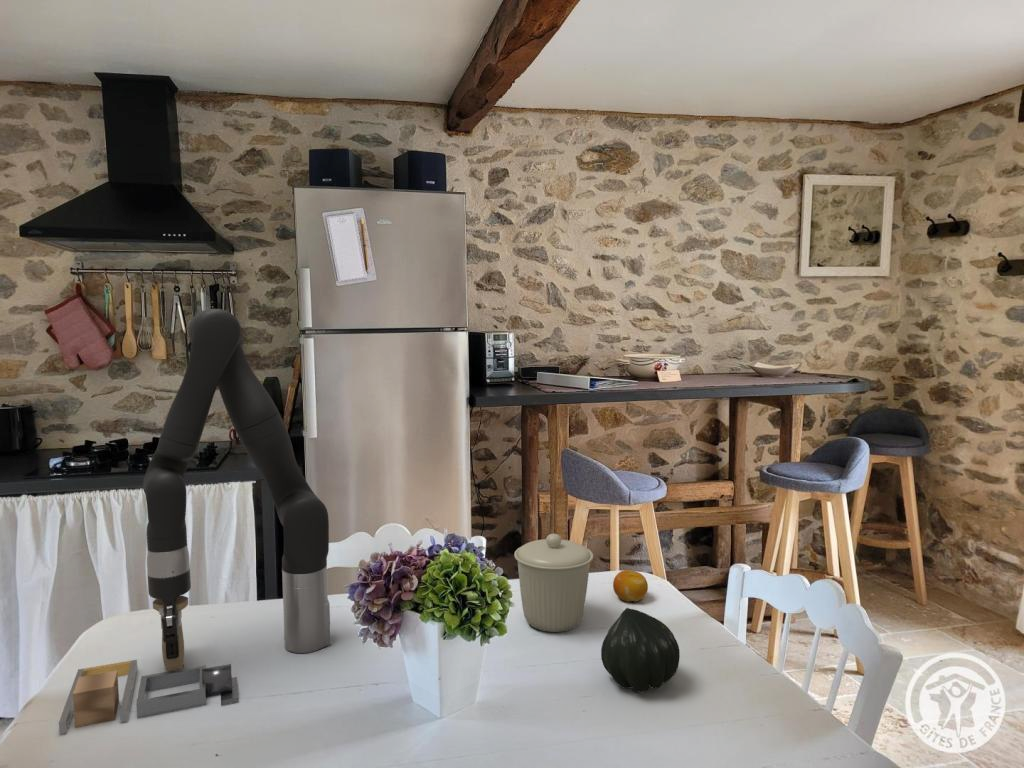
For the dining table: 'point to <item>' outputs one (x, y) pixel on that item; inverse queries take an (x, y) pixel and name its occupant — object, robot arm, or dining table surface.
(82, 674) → the bay
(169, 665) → the handle
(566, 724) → the dining table surface
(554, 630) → the canister
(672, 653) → the squash
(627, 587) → the fruit
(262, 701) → the dining table surface
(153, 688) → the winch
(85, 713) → the tan cardboard box
